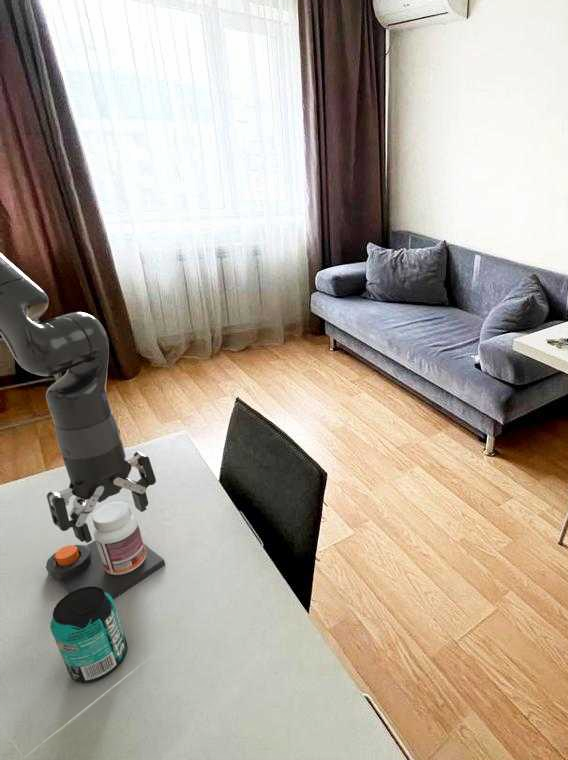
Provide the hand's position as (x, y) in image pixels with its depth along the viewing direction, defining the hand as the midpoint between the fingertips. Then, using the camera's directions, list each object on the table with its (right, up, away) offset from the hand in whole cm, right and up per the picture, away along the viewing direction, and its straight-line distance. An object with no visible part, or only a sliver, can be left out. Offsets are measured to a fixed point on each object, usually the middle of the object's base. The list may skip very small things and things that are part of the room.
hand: (114, 523), depth 82 cm
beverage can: (+5, -17, -10) cm, 20 cm away
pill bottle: (-1, -8, +4) cm, 9 cm away
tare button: (-9, -7, +2) cm, 12 cm away
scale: (-4, -9, +4) cm, 11 cm away
